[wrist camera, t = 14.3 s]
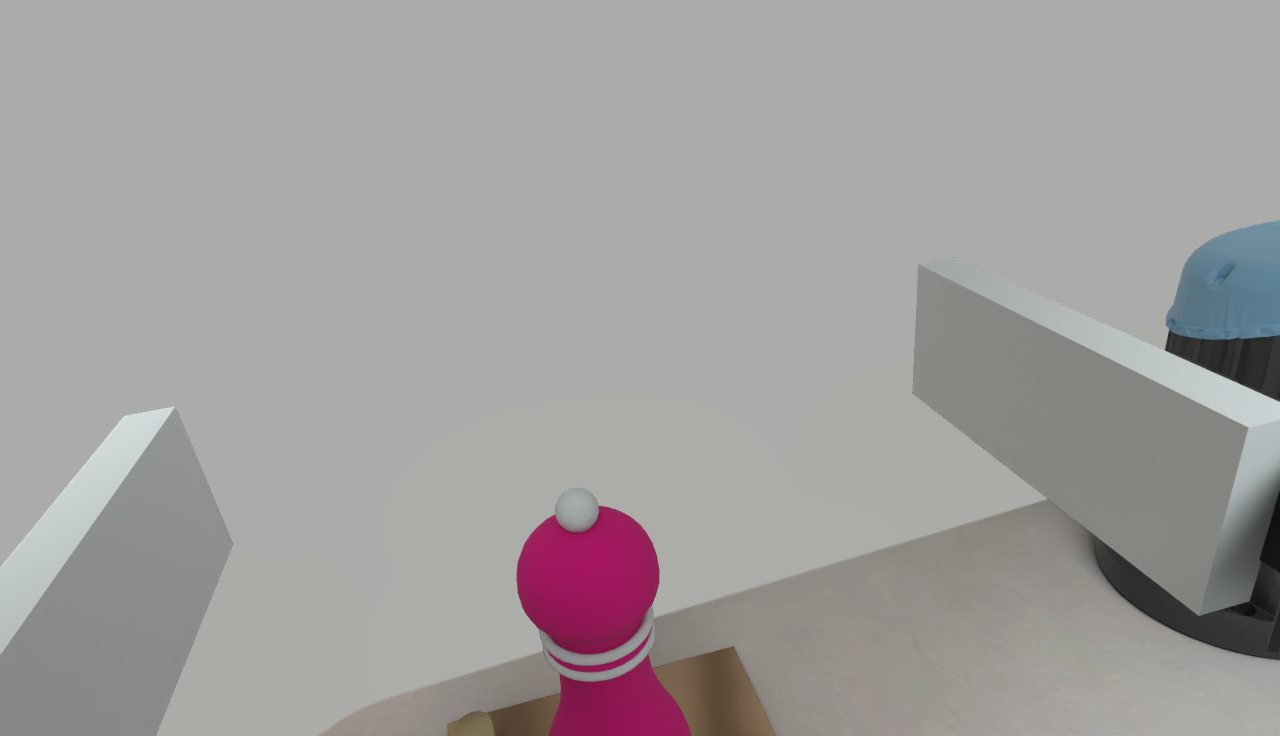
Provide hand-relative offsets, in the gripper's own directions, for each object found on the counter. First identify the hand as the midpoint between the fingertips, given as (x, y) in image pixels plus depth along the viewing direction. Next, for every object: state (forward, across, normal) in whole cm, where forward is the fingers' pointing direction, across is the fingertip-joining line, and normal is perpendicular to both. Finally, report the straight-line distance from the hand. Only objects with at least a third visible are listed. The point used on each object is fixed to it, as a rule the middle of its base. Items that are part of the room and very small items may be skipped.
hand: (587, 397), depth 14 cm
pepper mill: (+14, 0, -31) cm, 34 cm away
